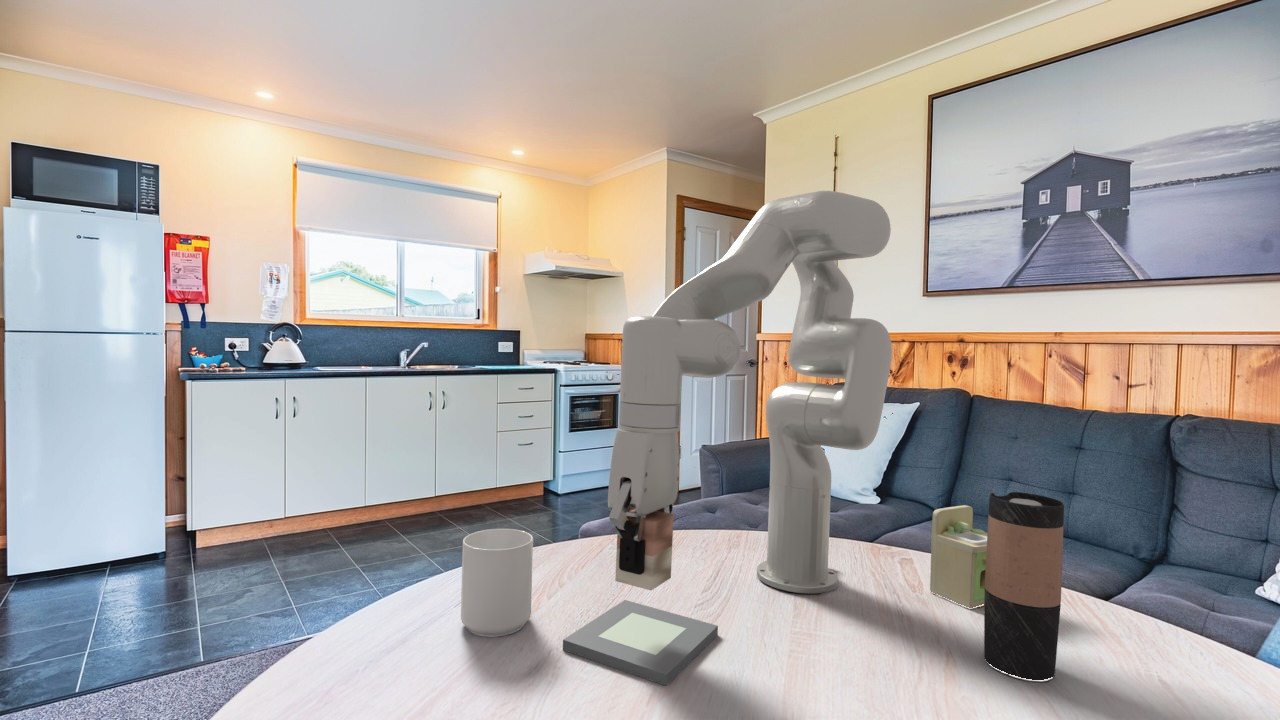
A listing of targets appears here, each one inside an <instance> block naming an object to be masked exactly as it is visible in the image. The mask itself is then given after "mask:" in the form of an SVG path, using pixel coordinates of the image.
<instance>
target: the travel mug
mask: <svg viewBox="0 0 1280 720" xmlns="http://www.w3.org/2000/svg"><path fill="white" fill-rule="evenodd" d="M987 516H988V519H987V532H986V533H987V552H986V570H985V599H984V607H983V608H984V609H983V610H984V611H983V612H984V613H983V615H984V620H983V622H984V623H983V625H984V626H983V627H984V629H983V630H984V632H983V634H984V635H983V642H984V643H983V644H984V645H983V653H984V660H985V659H986V661H987V662H988V663H989V664H991V665H992V666H993V667H995V668H997V669H999V670H1001V671H1004V672H1006V673H1008V674H1011V675H1015V676H1018V677H1021V678H1026V679H1032V680H1044V679H1048V678H1051V677H1053V676H1054V677H1055V675H1054V674H1056V664H1057V653H1058V641H1059V630H1060V618H1061V616H1060V615H1061V607H1062V605H1061V603H1062V579H1063V553H1064V552H1063V550H1064V524H1065V523H1064V522H1065V521H1064V519H1065V518H1064V517H1065V505H1064V502H1063V501H1060V500H1058V499H1055V498H1052V497H1048V496H1044V495H1040V494H1034V493H1029V492H1028V493H1027V492H1019V491H1018V492H1017V491H1012V492H1009V493H1007V494H1006V495H1000V496H999V495H996V494H995V492H991V493H990V494H989V499H988V514H987ZM986 661H985V662H986ZM987 662H986V663H987ZM988 663H987V664H988Z"/></svg>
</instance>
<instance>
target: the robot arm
mask: <svg viewBox="0 0 1280 720" xmlns="http://www.w3.org/2000/svg"><path fill="white" fill-rule="evenodd" d="M891 230H892V229H891V222H890V218H889V215H888V213H887V211H886V210H885V208H884V207H883V206H882V205H880V203H879V202H876V201H875V200H873V199H868V198H866V197H860V196H856V195H854V194H848V193H844V192H840V191H834V190H818V191H813V192H808V193H807V192H806V193H801V194H797V195H793V196H785V197H781V198H777V199H775V200H771V201H769V202H767V203H766V204H764V205H763V206H762V207H761V208H759V210H758V211H757V212H756V213H755V214H754V215H753V217H752V218H751V220H750V221H749V223H748V224H747V225H746V227H745V228H744V229H743V230H742V232H741V233H740V234H739V236H738V237H737V238H736V240H734V242H733V244H732V245H731V246H730V247H729V249H728V251H727V252H726V253H725V254H724V255H723V256H722V258H721V259H719V260H718V261H716V262H715V263H713V264H712V265H710V266H708V267H707V268H705V269H703V271H700V273H698V274H696V276H693V277H692V278H691V279H689V280H687V282H685V283H683V284H681V285H680V286H679V287H677V288H676V289H675V290H674V291H672V292H671V294H669V295H668V296H667V297H666V298H665V299H664V300H663V302H662V303H661V304H660V305H659V307H658V308H657V309H656V310H655V311H654V313H653V314H652V316H651V315H650V316H649V315H648V316H645V315H640V316H639V315H638V316H632V317H629V318H628V319H626V321H625V322H624V325H623V328H622V338H621V339H622V340H621V341H622V345H621V363H620V364H621V365H620V385H619V386H620V389H619V391H620V392H619V410H618V411H619V413H618V415H619V416H618V429H617V431H616V434H615V439H614V442H613V446H612V447H613V448H612V454H611V462H610V470H609V479H608V493H607V507H608V509H609V510H610V512H609V517H608V518H609V520H610V521H611V524H613V525H614V527H615V529H616V530H617V531H618V537H619V538H620V554H619V568H620V570H622V571H626V572H630V573H634V574H638V575H641V574H643V573H644V563H645V540H642V536H643V531H644V525H645V520H646V515H647V514H650V513H652V512H655V511H661V512H666V513H671V514H672V512H673V506H674V504H675V502H676V501H677V498H678V494H679V493H678V492H679V481H680V479H679V478H680V477H679V476H680V458H679V457H680V456H679V455H680V454H679V452H680V450H679V435H678V432H680V431H681V409H682V405H681V404H682V384H683V383H682V382H683V377H689V378H690V377H691V378H702V379H703V378H705V379H707V378H708V379H711V378H713V379H714V378H717V377H721V376H724V375H726V374H728V373H729V372H731V371H732V370H733V369H734V368H735V367H736V365H737V363H738V361H739V360H740V357H741V351H742V349H741V347H742V346H741V342H740V338H739V336H738V334H737V332H736V331H735V330H734V329H733V328H732V327H731V326H730V325H728V324H727V323H725V322H723V321H720V320H716V319H719V318H720V317H722V316H726V315H729V314H732V313H734V312H737V311H740V310H743V309H746V308H749V307H751V306H752V305H755V304H757V303H759V302H761V301H763V300H765V299H766V298H767V297H769V296H770V294H771V293H772V292H773V291H774V290H775V288H776V287H777V285H778V283H779V282H780V280H781V278H782V277H783V275H784V274H785V272H786V271H787V270H788V268H789V267H790V265H791V264H792V265H793V268H794V269H795V272H796V274H797V278H798V281H799V286H800V287H799V288H800V294H799V301H798V307H797V311H796V316H795V320H794V324H793V329H792V334H791V337H790V343H789V349H788V362H789V365H790V367H791V369H792V370H793V371H795V372H796V373H798V374H800V375H803V376H807V377H812V378H813V377H814V378H827V379H841V380H842V379H843V380H844V385H840V384H828V383H827V384H826V383H819V382H806V381H805V382H803V381H800V382H799V381H798V382H797V381H795V382H787V383H784V384H780V385H778V386H777V387H776V388H774V389H773V390H772V391H771V392H770V393H769V396H768V397H767V401H766V403H765V419H766V425H767V433H768V438H769V452H770V453H769V454H770V456H769V458H770V462H769V463H770V466H769V490H768V492H769V493H768V497H769V498H768V525H767V547H766V551H767V553H766V560H765V561H762V562H760V563H759V564H758V565H757V567H756V577H758V579H759V580H760V581H761V582H762V583H764V584H765V585H767V586H770V587H772V588H775V589H777V590H781V591H785V592H789V593H794V594H795V593H796V594H806V595H807V594H809V595H810V594H822V593H828V592H830V591H833V590H834V589H836V588H837V586H838V582H839V577H838V574H836V572H835V571H834V570H832V569H831V568H829V554H830V553H829V551H830V525H831V524H830V521H831V500H832V499H831V495H832V494H831V493H832V469H831V464H830V462H829V459H828V458H827V455H826V453H825V451H824V449H823V448H822V447H829V448H837V449H843V450H849V451H850V450H851V451H859V450H864V449H866V448H868V447H869V446H870V445H871V444H872V443H873V442H874V440H875V438H876V437H877V434H878V431H879V428H880V424H881V420H882V414H883V409H884V404H885V399H886V398H885V397H886V394H887V388H888V382H889V377H890V372H891V366H892V359H893V346H892V340H891V335H890V334H889V331H888V330H887V328H886V327H885V326H884V324H883V323H881V322H880V321H878V320H876V319H871V318H861V317H859V318H858V317H856V318H853V317H852V312H853V305H854V296H855V295H854V294H855V293H854V291H853V287H852V285H851V282H850V281H849V280H848V278H847V276H846V275H845V274H844V273H843V272H842V270H841V269H840V268H839V266H838V265H837V264H836V262H835V261H843V260H844V261H845V260H853V259H864V258H865V259H867V258H871V257H874V256H875V257H876V255H879V254H880V253H882V251H883V250H884V249H886V247H887V245H888V243H889V241H890V237H891ZM631 508H634V509H636V510H635V512H636V513H635V512H630V511H631ZM629 517H633V518H637V521H636V526H634V524H633V523H632V521H629Z"/></svg>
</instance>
